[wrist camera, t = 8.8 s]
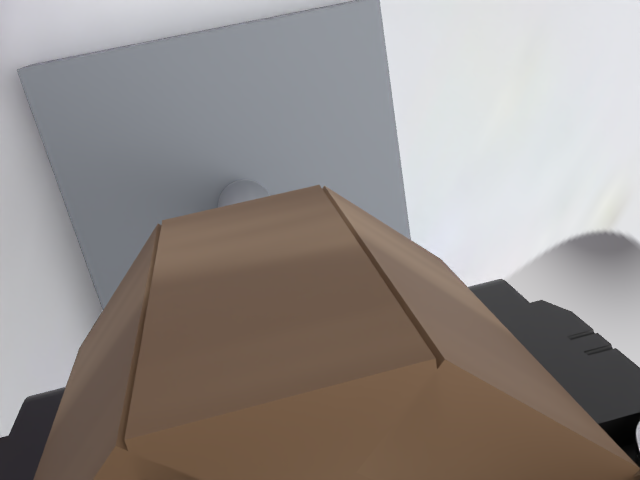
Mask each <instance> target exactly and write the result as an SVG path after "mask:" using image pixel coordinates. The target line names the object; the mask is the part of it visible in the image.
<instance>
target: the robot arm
mask: <svg viewBox="0 0 640 480" xmlns="http://www.w3.org/2000/svg"><path fill="white" fill-rule="evenodd" d="M468 288H469V289H470V290H471V291H472V292H473V293H474V294H475V296H476V297H477V298H478V299H479V300H480V301H481V302H482V303H483V304H484V305H485V306H486V307H487V308H488V309H489V310H490V311H491V312H492V313H493V314H494V315H495V317H496V318H497V319H498V320H499V321H500V322H501V323H502V324H503V325H504V326H505V327H506V328H507V329H508V330H509V331H510V332H511V333H512V334H513V335H514V336H515V338H516V339H517V340H518V341H519V342H520V343H521V344H522V345H523V346H524V347H525V348H526V349H527V350H528V351H529V352H530V353H531V354H532V355H533V356H534V358H535V359H536V360H537V361H538V362H539V363H540V364H541V365H542V366H543V367H544V368H545V369H546V370H547V371H548V372H549V373H550V374H551V375H552V376H553V377H554V379H555V380H556V381H557V382H558V383H559V384H560V385H561V386H562V387H563V388H564V389H565V390H566V391H567V392H568V393H569V394H570V395H571V396H572V397H573V398H574V400H575V401H576V402H577V403H578V404H579V405H580V406H581V407H582V408H583V409H584V410H585V411H586V412H587V413H588V414H589V415H590V416H591V417H592V418H593V419H594V421H595V422H596V423H597V424H598V425H599V426H600V427H601V428H602V429H603V430H604V431H605V432H606V433H607V434H608V435H609V436H610V437H611V438H612V439H613V441H614V442H615V443H616V444H617V445H618V446H619V447H620V448H621V449H622V450H623V451H624V452H625V453H626V454H627V455H628V456H629V457H630V458H631V459H632V460H633V462H634V463H635V464H636V465H637V466H638V467H639V468H640V368H639V367H638V366H637V365H636V364H634V363H633V362H632V361H631V360H630V359H628V358H627V357H626V356H625V355H624V354H622V353H621V352H620V351H619V350H617V349H616V348H615V349H613V348H612V346H611V344H610V343H609V342H608V341H607V340H605V339H604V338H603V337H602V336H601V335H599V334H598V333H596V334H595V333H594V331H593V329H592V328H591V327H590V326H588V325H587V324H586V323H585V322H584V321H582V320H581V319H580V318H579V317H577V316H576V315H575V314H574V313H573V312H571V311H568V310H566V309H563V308H561V307H558V306H556V305H553V304H551V303H548V302H546V301H543V300H540V301H536V302H532V303H529V302H528V301H527V300H526V299H525V298H524V297H523V296H522V295H520V294H519V293H518V292H517V291H516V290H515V289H514V288H513V287H512V286H511V285H509V284H508V283H507V282H506V281H505V280H503V279H498V280H494V281H490V282H486V283H482V284H478V285H474V286H470V287H468ZM65 388H66V387H64V388H60V389H56V390H52V391H48V392H44V393H40V394H36V395H32V396H29V397H27V398H26V399H25V401H24V402H23V404H22V407H21V409H20V411H19V413H18V416H17V418H16V420H15V423H14V425H13V427H12V429H11V432H10V434H9V436H6V437H2V438H0V480H33V479H34V477H35V474H36V471H37V468H38V465H39V462H40V459H41V457H42V454H43V451H44V448H45V445H46V442H47V439H48V437H49V434H50V431H51V428H52V425H53V422H54V419H55V417H56V414H57V411H58V408H59V405H60V402H61V399H62V397H63V394H64V391H65Z"/></svg>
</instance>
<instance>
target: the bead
mask: <svg viewBox="0 0 640 480" xmlns="http://www.w3.org/2000/svg"><path fill="white" fill-rule="evenodd" d="M33 480H640V468H639V467H638V466H637V465H636V464H635V463H634V462H633V460H632V459H631V458H630V457H629V456H628V455H627V454H626V453H625V452H624V451H623V450H622V449H621V448H620V447H619V446H618V445H617V444H616V443H615V442H614V441H613V439H612V438H611V437H610V436H609V435H608V434H607V433H606V432H605V431H604V430H603V429H602V428H601V427H600V426H599V425H598V424H597V423H596V422H595V421H594V419H593V418H592V417H591V416H590V415H589V414H588V413H587V412H586V411H585V410H584V409H583V408H582V407H581V406H580V405H579V404H578V403H577V402H576V401H575V400H574V398H573V397H572V396H571V395H570V394H569V393H568V392H567V391H566V390H565V389H564V388H563V387H562V386H561V385H560V384H559V383H558V382H557V381H556V380H555V379H554V377H553V376H552V375H551V374H550V373H549V372H548V371H547V370H546V369H545V368H544V367H543V366H542V365H541V364H540V363H539V362H538V361H537V360H536V359H535V358H534V356H533V355H532V354H531V353H530V352H529V351H528V350H527V349H526V348H525V347H524V346H523V345H522V344H521V343H520V342H519V341H518V340H517V339H516V338H515V336H514V335H513V334H512V333H511V332H510V331H509V330H508V329H507V328H506V327H505V326H504V325H503V324H502V323H501V322H500V321H499V320H498V319H497V318H496V317H495V315H494V314H493V313H492V312H491V311H490V310H489V309H488V308H487V307H486V306H485V305H484V304H483V303H482V302H481V301H480V300H479V299H478V298H477V297H476V296H475V294H474V293H473V292H472V291H471V290H470V289H469V288H468V287H467V286H466V285H465V284H464V283H463V282H462V281H461V280H460V279H459V278H458V277H457V276H456V274H455V273H454V272H453V271H452V270H451V269H450V268H449V267H448V266H447V265H446V264H445V263H444V262H443V261H442V260H441V259H440V258H438V257H437V256H435V255H433V254H432V253H430V252H429V251H427V250H426V249H424V248H422V247H421V246H419V245H418V244H416V243H414V242H413V241H411V240H410V239H408V238H407V237H405V236H403V235H402V234H400V233H399V232H397V231H396V230H394V229H392V228H391V227H389V226H388V225H386V224H384V223H383V222H381V221H380V220H378V219H377V218H375V217H373V216H372V215H370V214H369V213H367V212H366V211H364V210H362V209H361V208H359V207H358V206H356V205H354V204H353V203H351V202H350V201H348V200H347V199H345V198H343V197H342V196H340V195H339V194H337V193H336V192H334V191H332V190H331V189H329V188H328V187H326V186H324V187H323V188H321V186H320V185H315V186H311V187H307V188H302V189H298V190H293V191H289V192H285V193H280V194H276V195H271V196H267V197H263V198H258V199H254V200H249V201H245V202H241V203H236V204H232V205H227V206H223V207H219V208H214V209H210V210H205V211H201V212H197V213H192V214H188V215H183V216H179V217H175V218H170V219H166V220H162V225H160V224H157V226H156V227H155V229H154V230H153V232H152V234H151V235H150V237H149V238H148V240H147V241H146V243H145V245H144V246H143V248H142V249H141V251H140V253H139V254H138V256H137V257H136V259H135V261H134V262H133V264H132V265H131V267H130V269H129V270H128V272H127V273H126V275H125V276H124V278H123V280H122V281H121V283H120V284H119V286H118V288H117V289H116V291H115V292H114V294H113V296H112V297H111V299H110V300H109V302H108V304H107V305H106V307H105V308H104V310H103V311H102V313H101V315H100V316H99V318H98V319H97V321H96V323H95V324H94V326H93V327H92V329H91V331H90V332H89V334H88V335H87V337H86V339H85V340H84V342H83V343H82V345H81V346H80V348H79V351H78V354H77V357H76V359H75V362H74V365H73V368H72V371H71V374H70V377H69V379H68V382H67V385H66V388H65V391H64V394H63V397H62V399H61V402H60V405H59V408H58V411H57V414H56V417H55V419H54V422H53V425H52V428H51V431H50V434H49V437H48V439H47V442H46V445H45V448H44V451H43V454H42V457H41V459H40V462H39V465H38V468H37V471H36V474H35V477H34V479H33Z"/></svg>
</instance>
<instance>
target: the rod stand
mask: <svg viewBox="0 0 640 480" xmlns="http://www.w3.org/2000/svg"><path fill="white" fill-rule="evenodd" d="M17 72H18V75H19V77H20V80H21V83H22V86H23V89H24V91H25V94H26V97H27V100H28V102H29V105H30V108H31V111H32V114H33V116H34V119H35V122H36V125H37V128H38V130H39V133H40V136H41V139H42V141H43V144H44V147H45V150H46V153H47V155H48V158H49V161H50V164H51V166H52V169H53V172H54V175H55V178H56V180H57V183H58V186H59V189H60V192H61V194H62V197H63V200H64V203H65V205H66V208H67V211H68V214H69V217H70V219H71V222H72V225H73V228H74V230H75V233H76V236H77V239H78V242H79V244H80V247H81V250H82V253H83V256H84V258H85V261H86V264H87V267H88V269H89V272H90V275H91V278H92V281H93V283H94V286H95V289H96V292H97V294H98V297H99V300H100V303H101V306H102V308H103V310H104V308H105V307H106V305H107V304H108V302H109V300H110V299H111V297H112V296H113V294H114V292H115V291H116V289H117V288H118V286H119V284H120V283H121V281H122V280H123V278H124V276H125V275H126V273H127V272H128V270H129V269H130V267H131V265H132V264H133V262H134V261H135V259H136V257H137V256H138V254H139V253H140V251H141V249H142V248H143V246H144V245H145V243H146V241H147V240H148V238H149V237H150V235H151V234H152V232H153V230H154V229H155V227H156V226H157V224H160V225H162V220H166V219H170V218H175V217H179V216H183V215H188V214H192V213H197V212H201V211H205V210H210V209H214V208H219V207H223V206H227V205H232V204H236V203H241V202H245V201H249V200H254V199H258V198H263V197H267V196H271V195H276V194H280V193H285V192H289V191H293V190H298V189H302V188H307V187H311V186H315V185H320V186H321V188H323V187H324V186H326V187H328V188H329V189H331V190H332V191H334V192H336V193H337V194H339V195H340V196H342V197H343V198H345V199H347V200H348V201H350V202H351V203H353V204H354V205H356V206H358V207H359V208H361V209H362V210H364V211H366V212H367V213H369V214H370V215H372V216H373V217H375V218H377V219H378V220H380V221H381V222H383V223H384V224H386V225H388V226H389V227H391V228H392V229H394V230H396V231H397V232H399V233H400V234H402V235H403V236H405V237H407V238H408V239H410V240H411V237H410V230H409V222H408V214H407V207H406V199H405V191H404V184H403V176H402V168H401V161H400V153H399V145H398V138H397V130H396V122H395V115H394V107H393V99H392V92H391V84H390V76H389V69H388V61H387V53H386V46H385V38H384V30H383V23H382V15H381V7H380V0H356V1H351V2H346V3H341V4H336V5H331V6H326V7H320V8H315V9H310V10H305V11H300V12H295V13H290V14H285V15H280V16H275V17H270V18H265V19H260V20H255V21H250V22H245V23H239V24H234V25H229V26H224V27H219V28H214V29H209V30H204V31H199V32H194V33H189V34H184V35H179V36H174V37H169V38H164V39H158V40H153V41H148V42H143V43H138V44H133V45H128V46H123V47H118V48H113V49H108V50H103V51H98V52H93V53H88V54H83V55H77V56H72V57H67V58H62V59H57V60H52V61H47V62H42V63H37V64H32V65H29V66H26V67H23V68H20V69H18V70H17Z"/></svg>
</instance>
